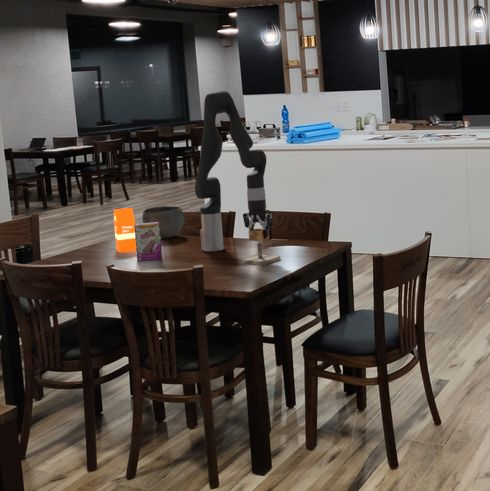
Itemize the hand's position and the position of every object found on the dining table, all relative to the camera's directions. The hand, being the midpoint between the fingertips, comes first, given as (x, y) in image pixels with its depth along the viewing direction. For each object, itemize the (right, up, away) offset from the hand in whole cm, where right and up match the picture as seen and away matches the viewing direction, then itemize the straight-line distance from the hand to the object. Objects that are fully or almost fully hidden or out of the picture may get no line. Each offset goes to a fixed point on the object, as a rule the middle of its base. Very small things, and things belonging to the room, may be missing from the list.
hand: (259, 237), depth 361 cm
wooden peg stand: (+1, -10, +2) cm, 10 cm away
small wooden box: (0, -1, 0) cm, 1 cm away
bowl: (-46, 0, +74) cm, 88 cm away
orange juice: (-62, -6, +48) cm, 79 cm away
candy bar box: (-48, -10, +21) cm, 54 cm away
